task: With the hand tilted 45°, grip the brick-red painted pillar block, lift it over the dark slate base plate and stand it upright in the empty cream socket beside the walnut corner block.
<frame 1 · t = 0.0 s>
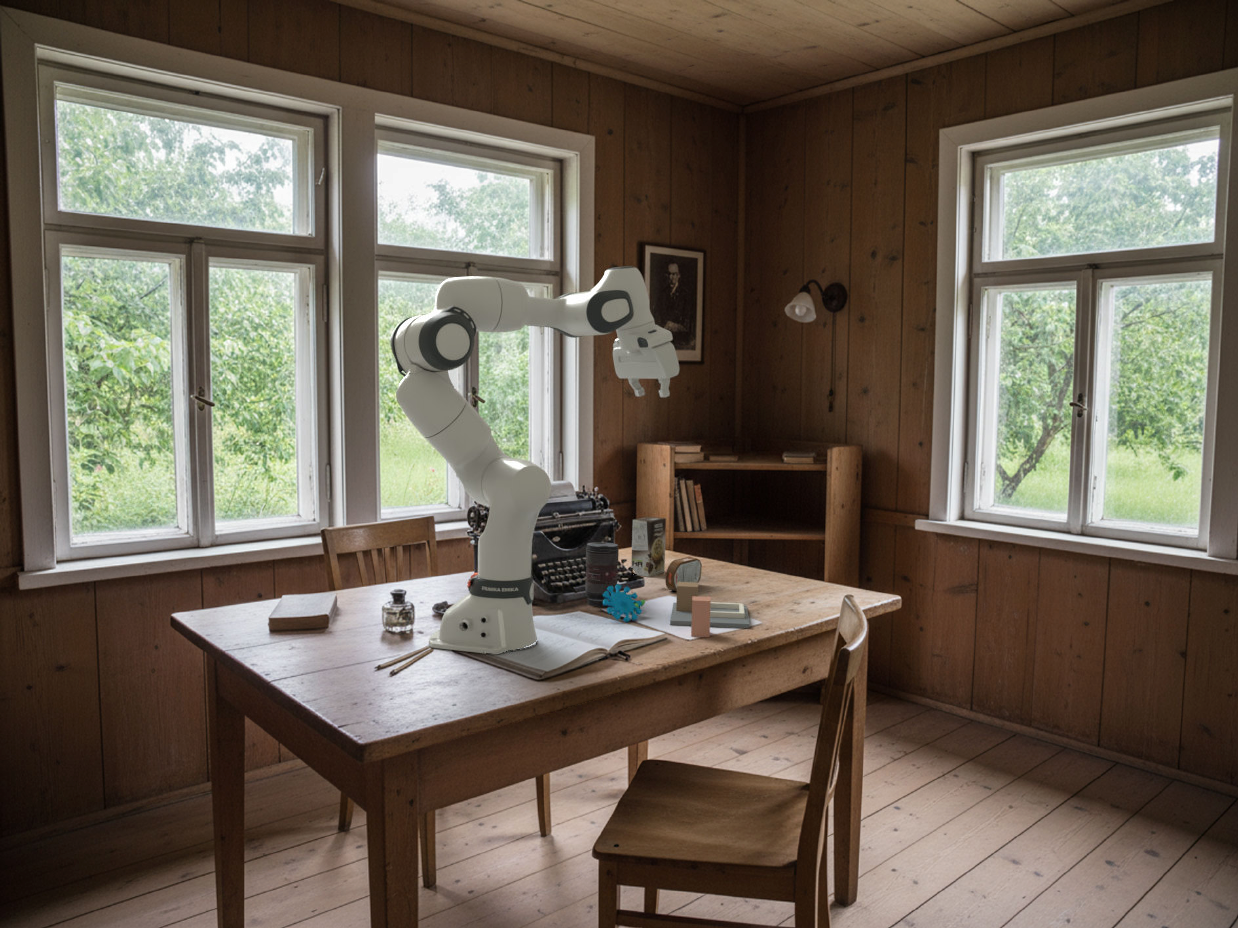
hand: (652, 396, 213), 52 cm above the table, tool tilted 20°, fingers open, 8 cm apart
pillar block: (700, 634, 206), on the table
camera lens: (601, 604, 233), on the table
gear: (623, 619, 219), on the table
tin: (683, 589, 252), on the table
coffee box: (648, 574, 272), on the table
base plate: (709, 616, 222), on the table
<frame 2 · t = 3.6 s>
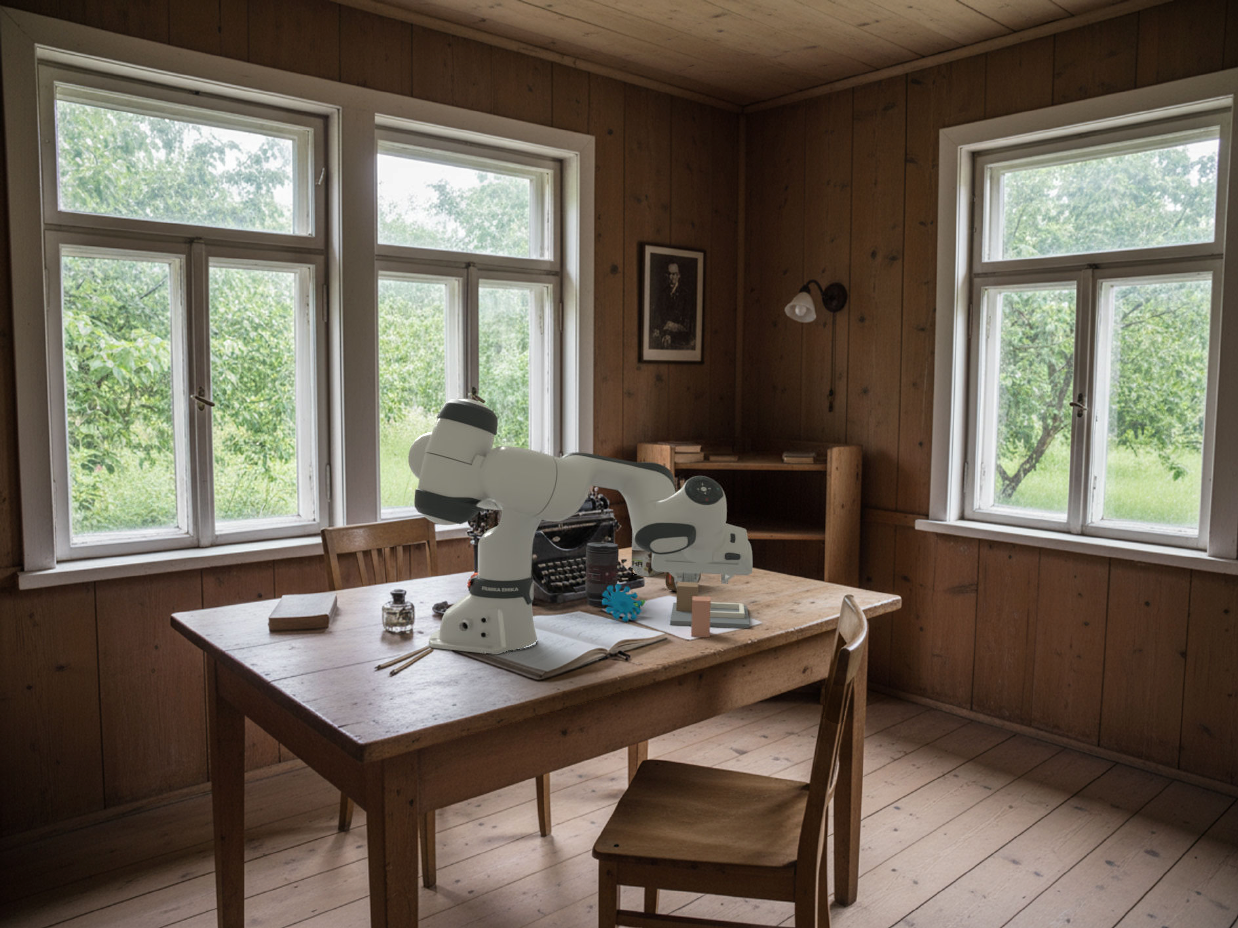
hand: (701, 579, 192), 15 cm above the table, tool tilted 45°, fingers open, 8 cm apart
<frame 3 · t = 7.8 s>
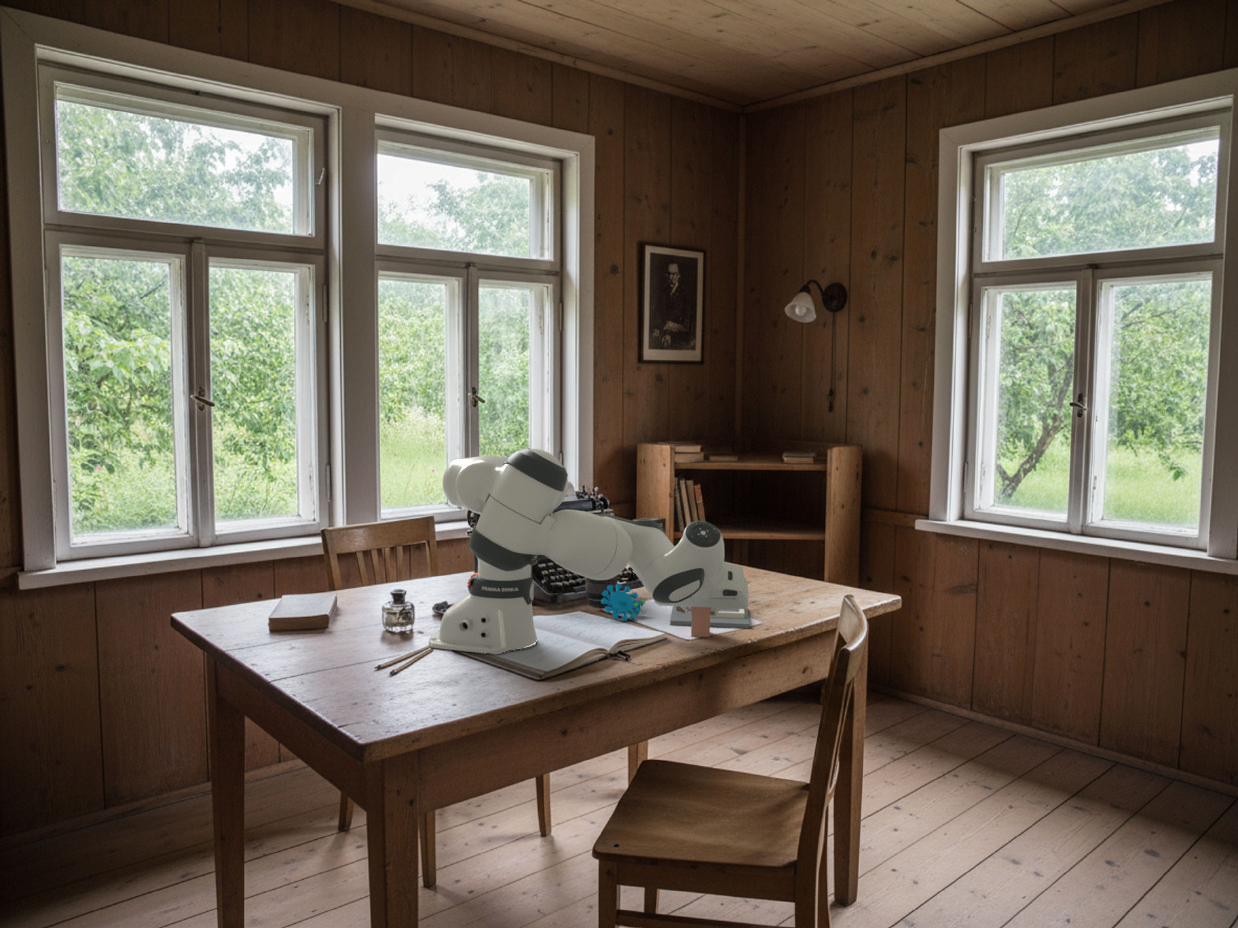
hand: (701, 612, 206), 5 cm above the table, tool tilted 45°, fingers closed on pillar block, 4 cm apart
pillar block: (700, 634, 206), on the table, touching gripper
when the fingers open (7 cm above the table, at t = 15.7 s): pillar block drops 1 cm, resting on base plate.
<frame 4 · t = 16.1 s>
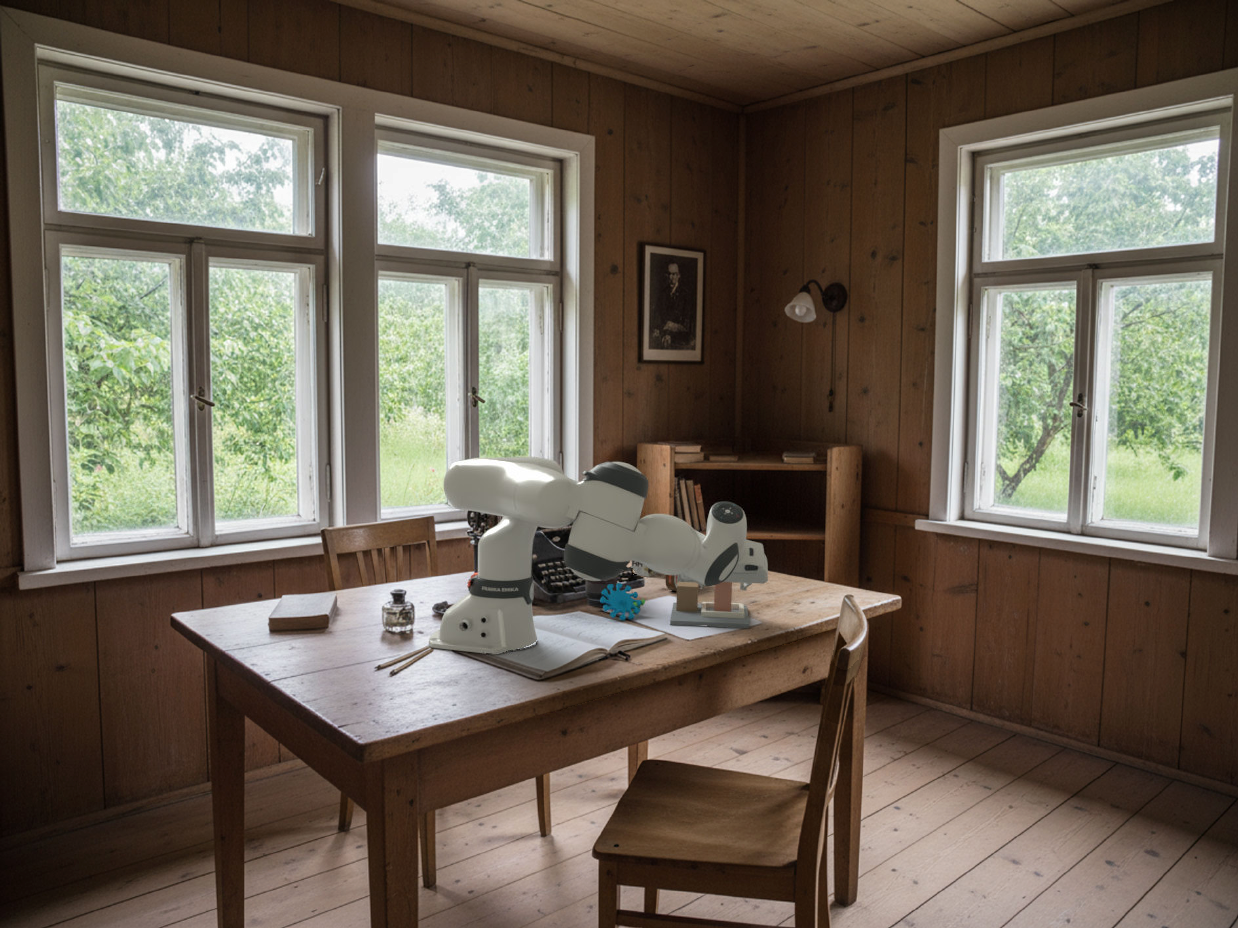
hand: (723, 587, 222), 7 cm above the table, tool tilted 45°, fingers open, 8 cm apart
pillar block: (722, 612, 222), point 1 cm above the table, touching base plate
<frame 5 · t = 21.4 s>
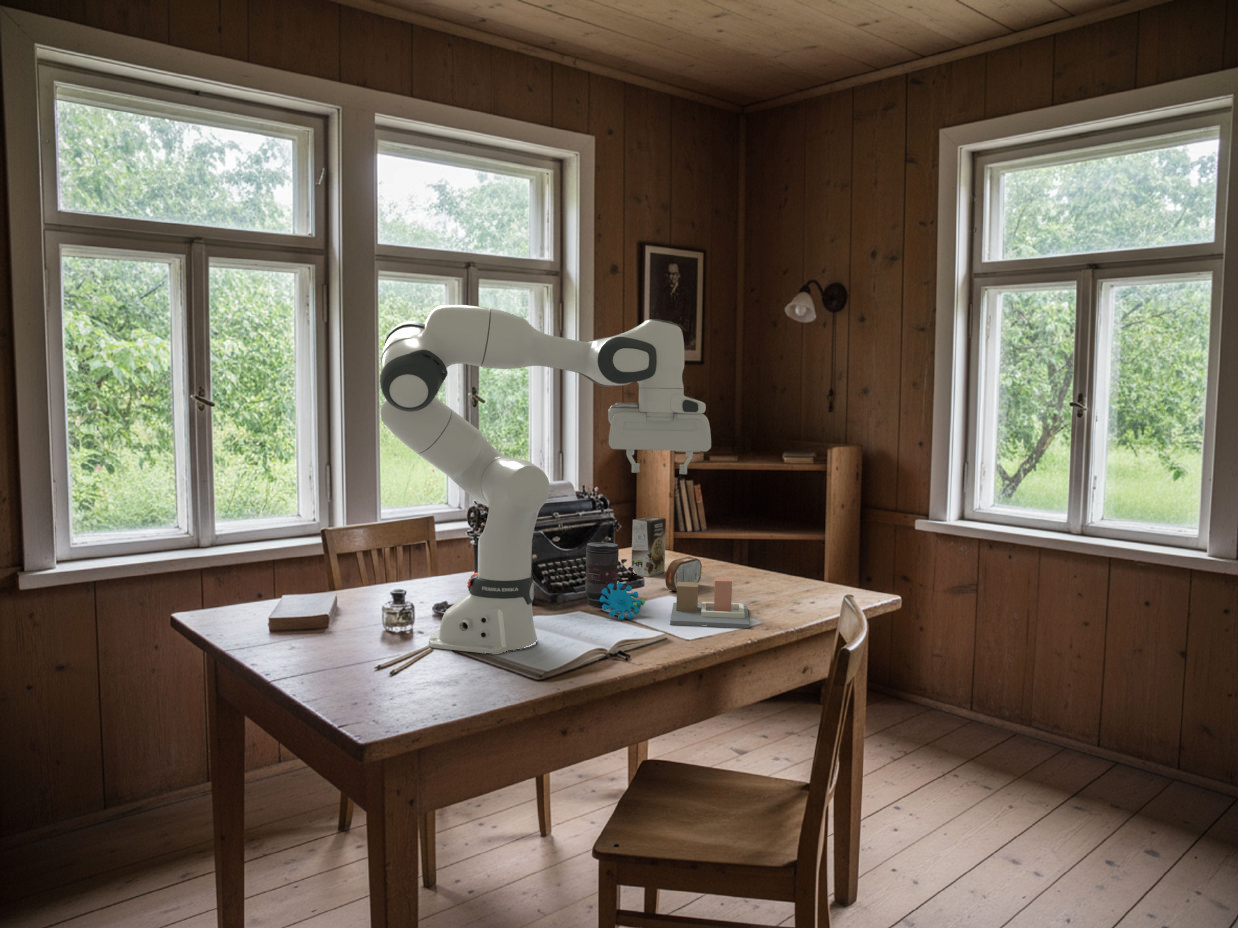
hand: (659, 473, 185), 37 cm above the table, tool pointing down, fingers open, 8 cm apart
at the end: pillar block 0.1 cm from the target spot, point 1.0 cm above the table; pillar block tilted 0°; the gripper is holding nothing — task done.
